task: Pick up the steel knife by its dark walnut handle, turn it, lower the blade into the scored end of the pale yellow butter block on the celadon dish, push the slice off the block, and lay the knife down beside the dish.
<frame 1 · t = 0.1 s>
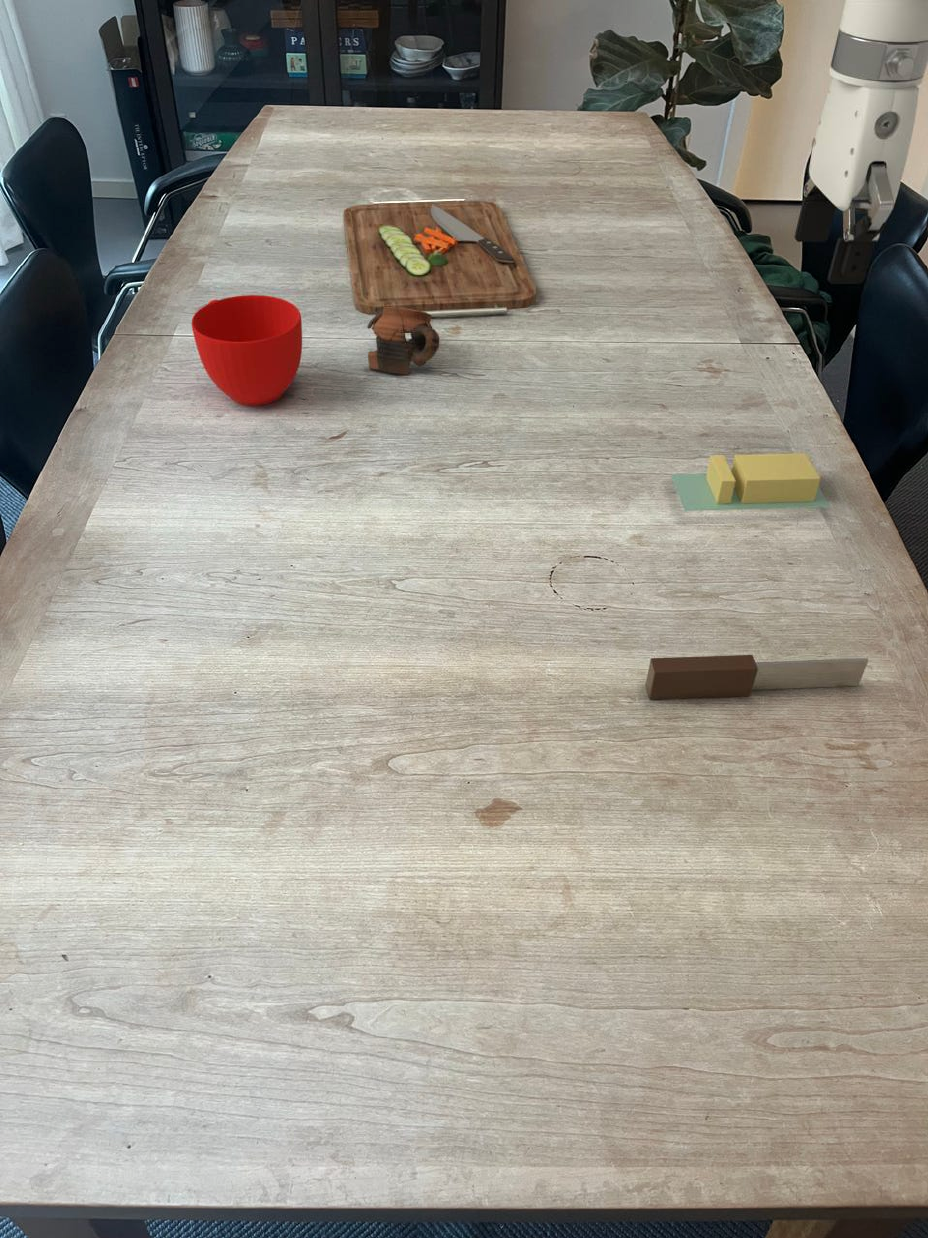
hand: (827, 260, 94), 26 cm above the table, tool pointing down, fingers open, 9 cm apart
butter dish: (746, 497, 110), on the table
knife: (747, 688, 88), on the table
butter slice: (717, 490, 110), point 1 cm above the table, touching butter dish
butter block: (771, 489, 110), point 1 cm above the table, touching butter dish
ceramic cup: (249, 387, 127), on the table
pottery mug: (405, 362, 133), on the table
chopping board: (433, 257, 159), on the table
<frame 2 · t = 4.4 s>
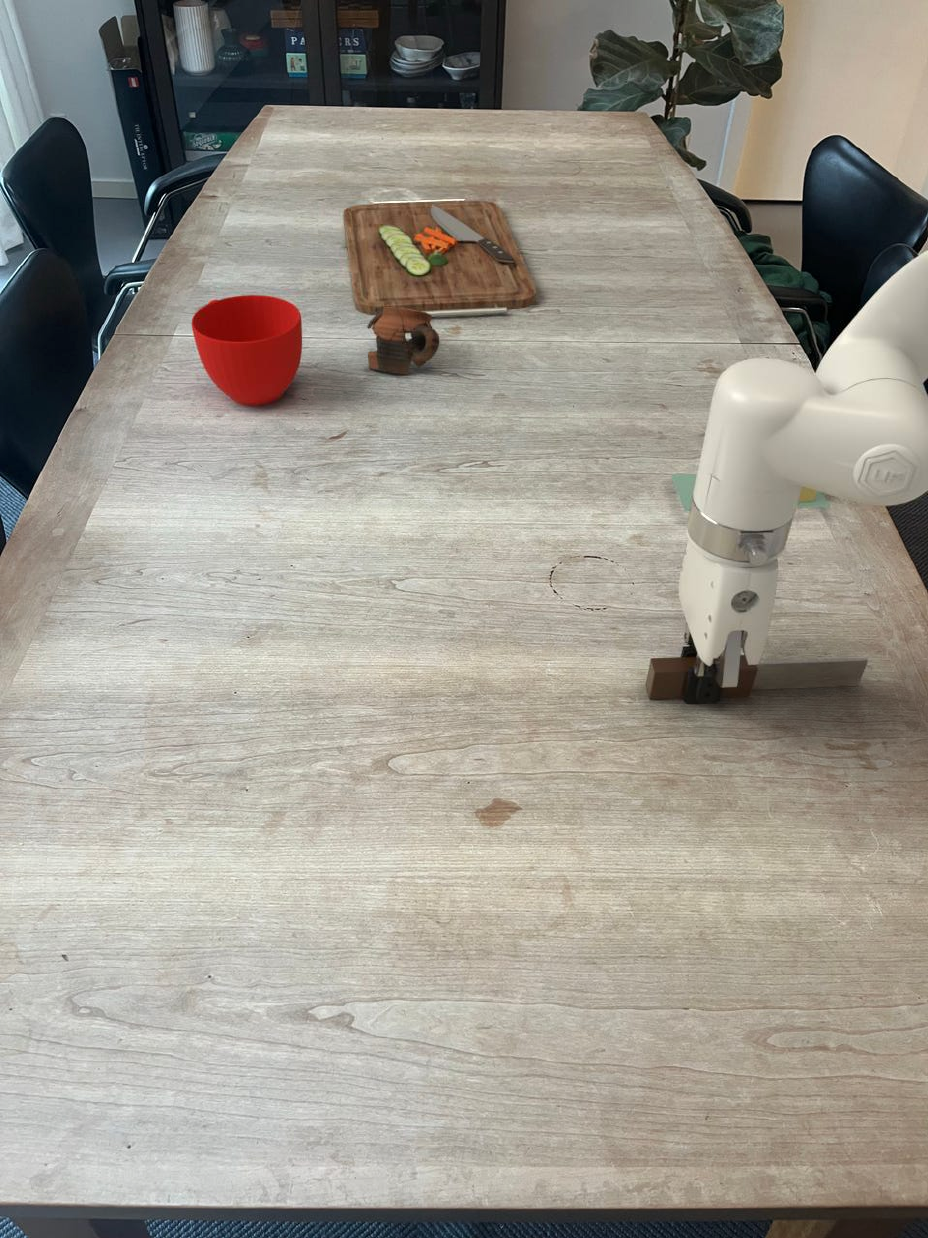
hand: (697, 689, 88), 0 cm above the table, tool pointing down, fingers closed on knife, 1 cm apart
knife: (747, 688, 88), on the table, touching gripper
everything else where it was.
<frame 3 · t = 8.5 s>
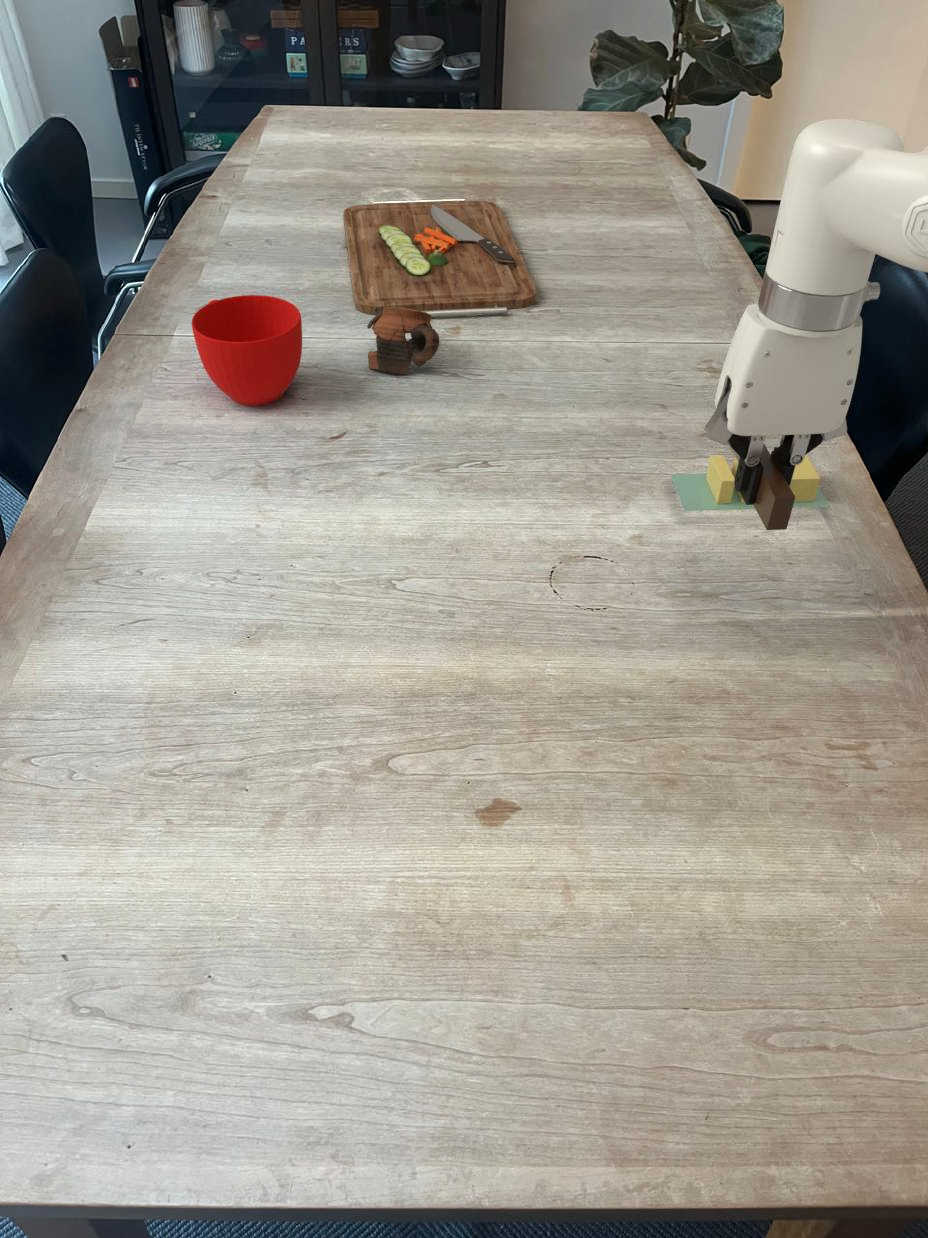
hand: (758, 494, 89), 12 cm above the table, tool pointing down, fingers closed on knife
knife: (745, 472, 92), point 12 cm above the table, touching gripper
everything else where it was.
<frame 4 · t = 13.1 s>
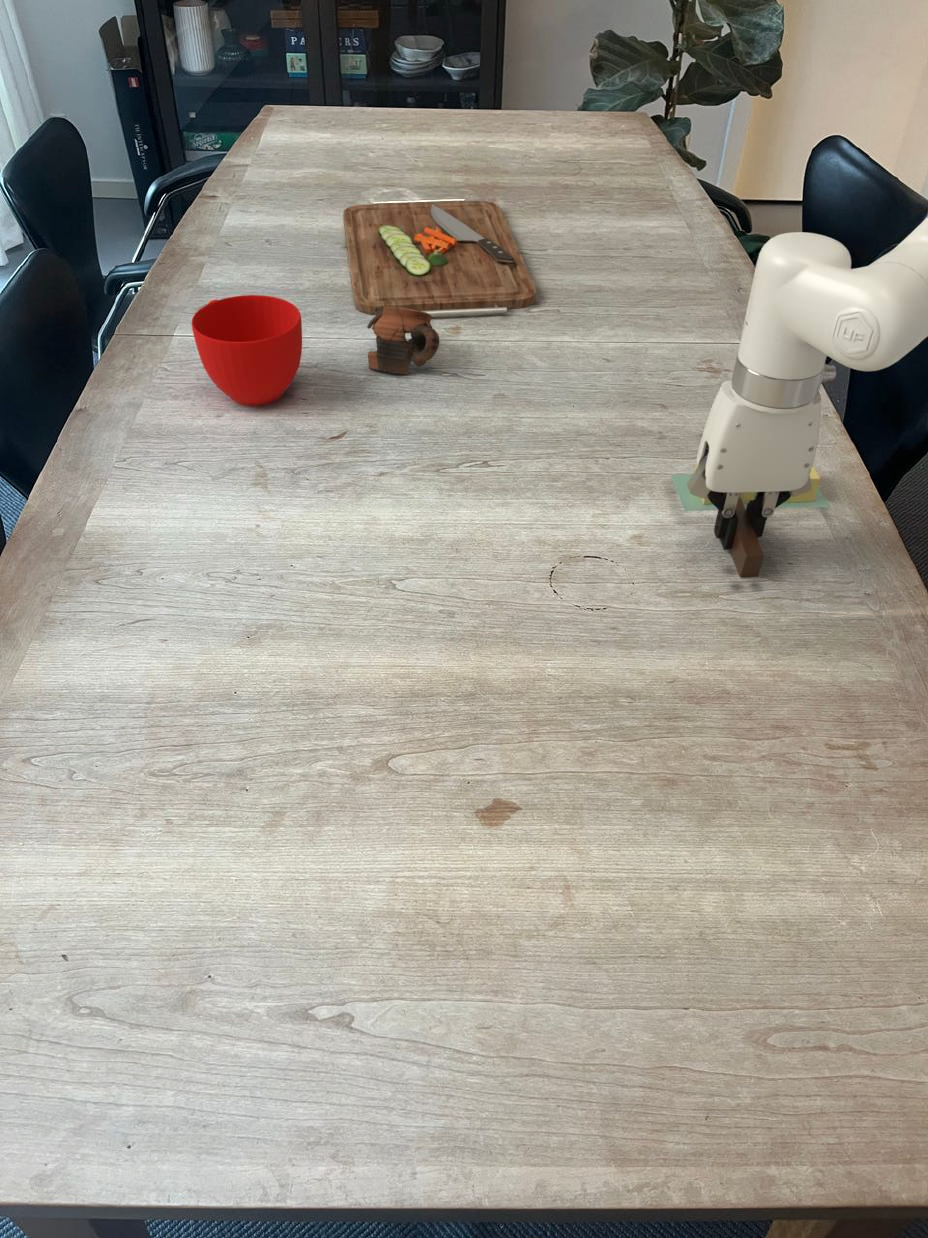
hand: (735, 540, 102), 1 cm above the table, tool pointing down, fingers closed on knife, 1 cm apart
knife: (725, 523, 105), point 1 cm above the table, touching butter slice, gripper
butter slice: (704, 490, 109), point 1 cm above the table, touching butter dish, knife
everything else where it was.
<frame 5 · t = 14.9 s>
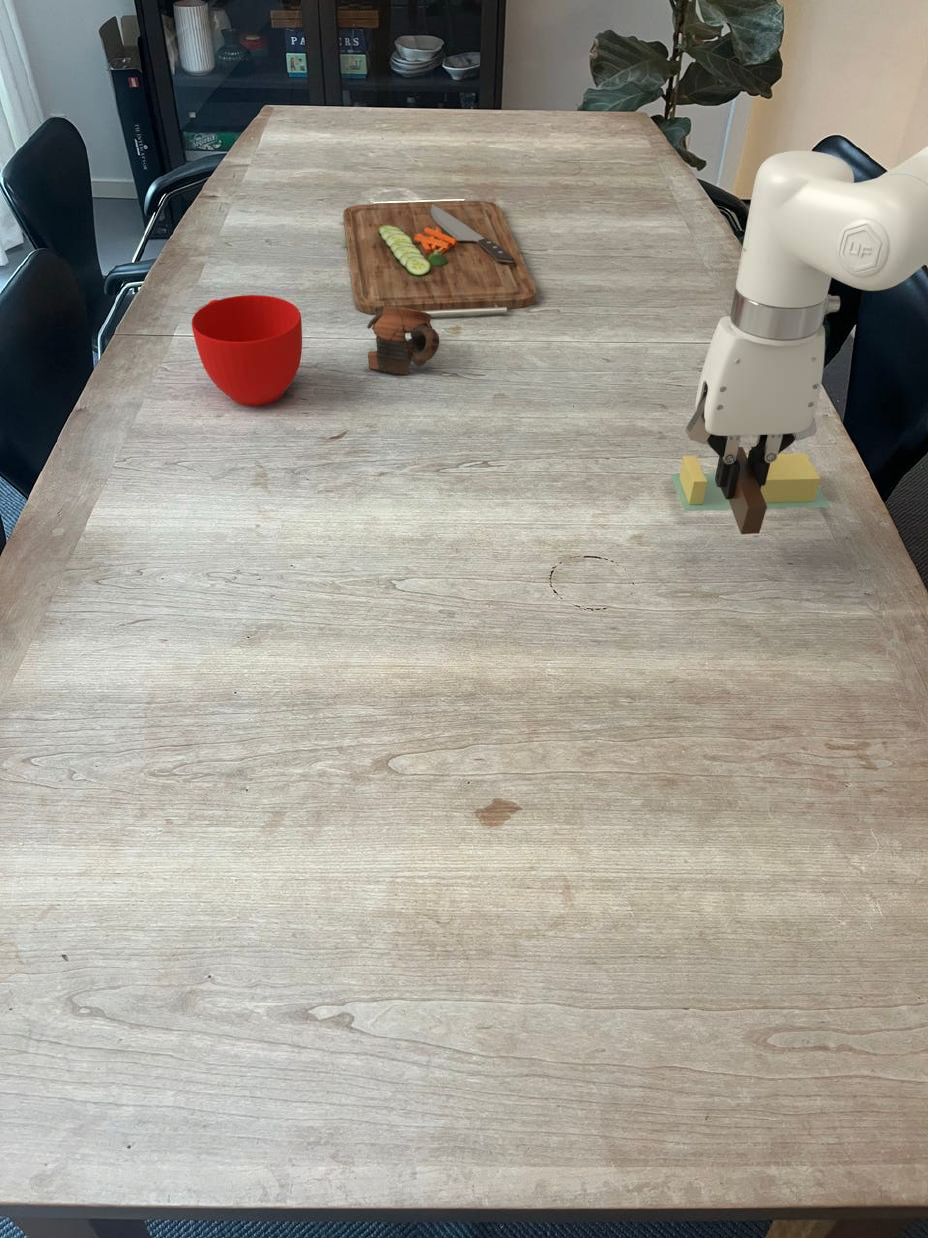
hand: (738, 489, 98), 8 cm above the table, tool pointing down, fingers closed on knife
knife: (727, 473, 101), point 7 cm above the table, tilted 5°, touching gripper
butter slice: (690, 491, 109), point 1 cm above the table, touching butter dish
everything else where it was.
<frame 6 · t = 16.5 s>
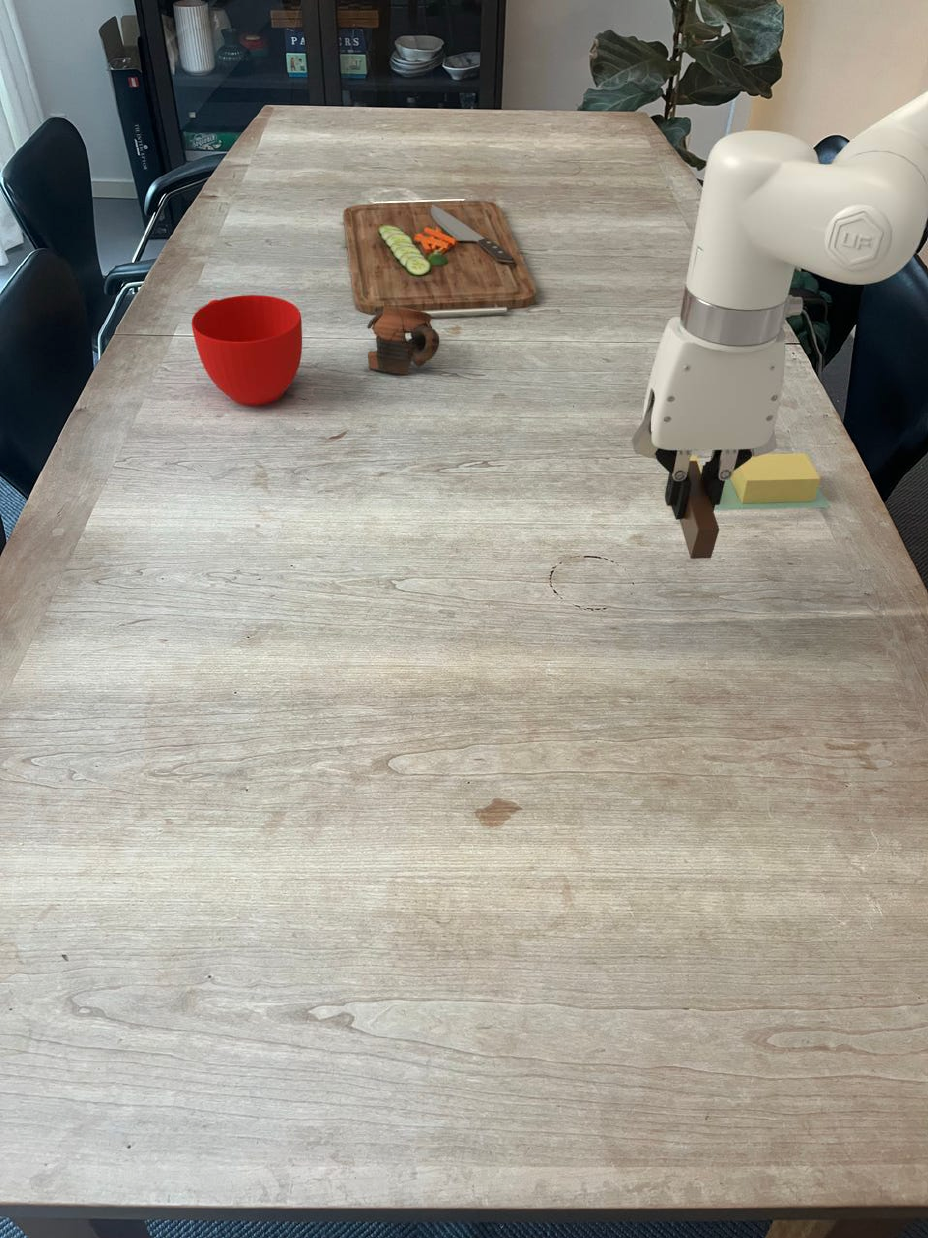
hand: (690, 508, 88), 12 cm above the table, tool pointing down, fingers closed on knife
knife: (680, 489, 91), point 11 cm above the table, tilted 6°, touching gripper
everything else where it was.
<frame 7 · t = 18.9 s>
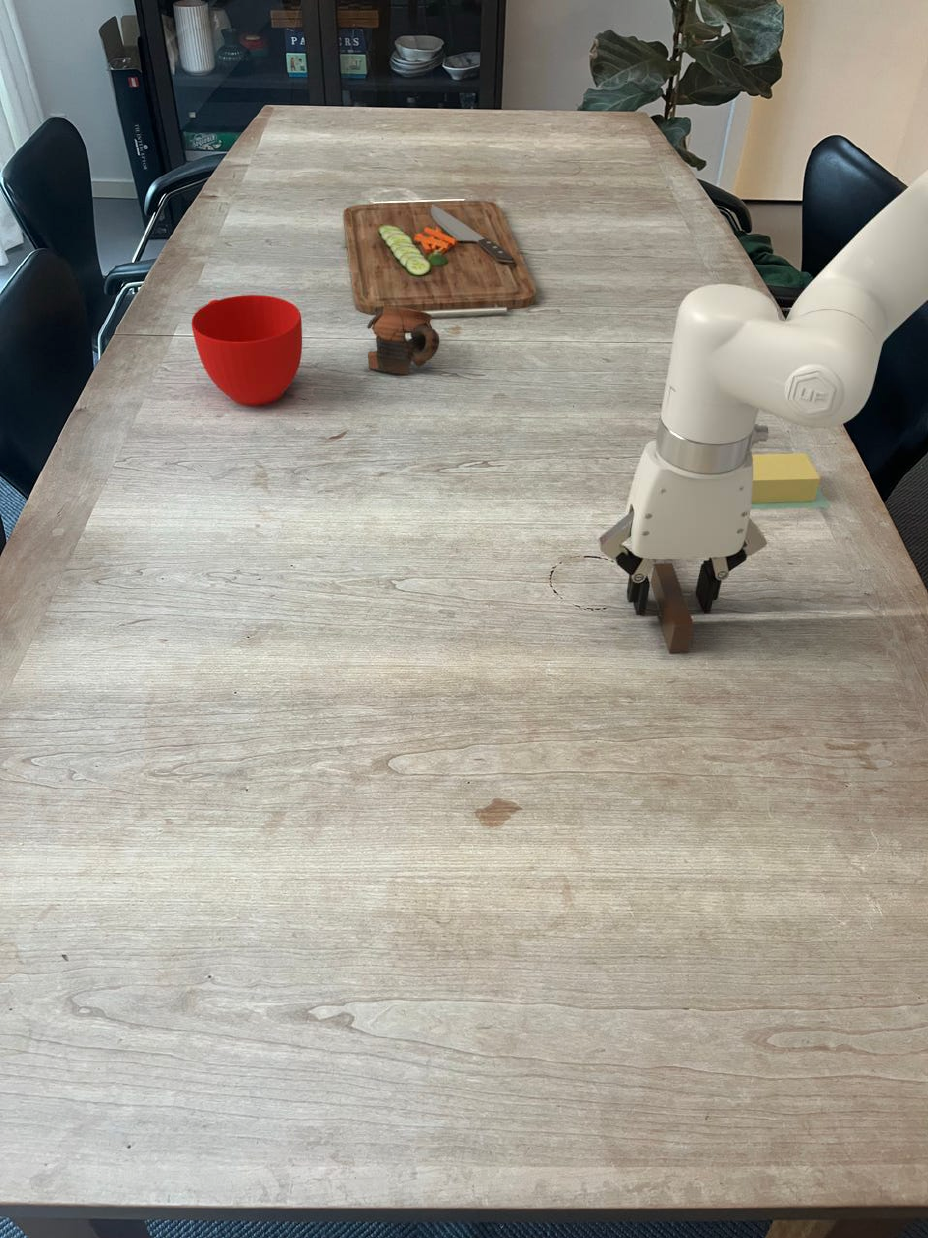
hand: (670, 603, 95), 2 cm above the table, tool pointing down, fingers open, 5 cm apart
knife: (658, 589, 98), on the table
everything else where it was.
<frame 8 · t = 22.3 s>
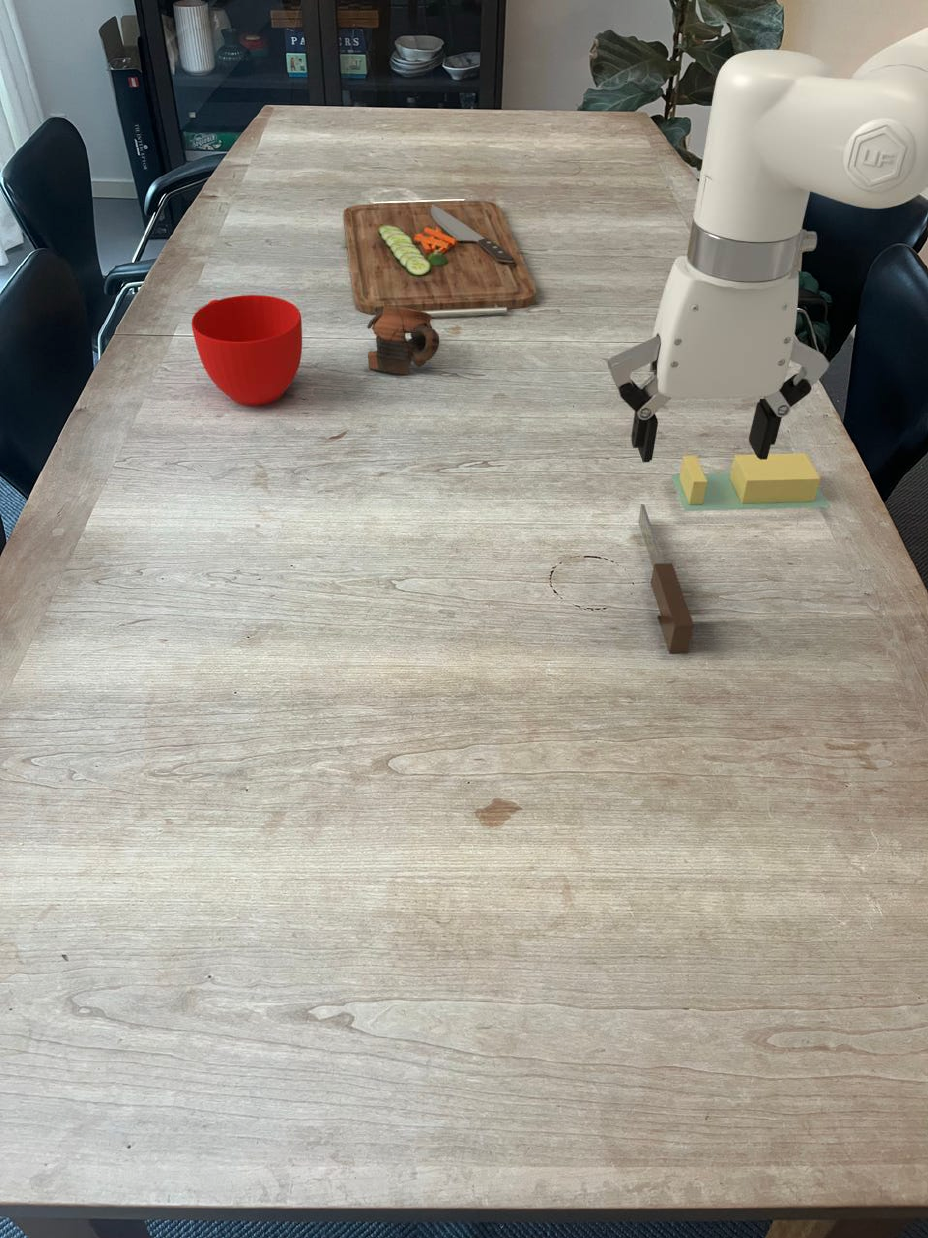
hand: (700, 452, 83), 18 cm above the table, tool pointing down, fingers open, 9 cm apart
nothing on the table moved.
at the end: butter slice 1.2 cm from the target spot on the table beside the butter block, resting on butter dish; butter block moved 0.0 cm from its start; the gripper is holding nothing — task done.
